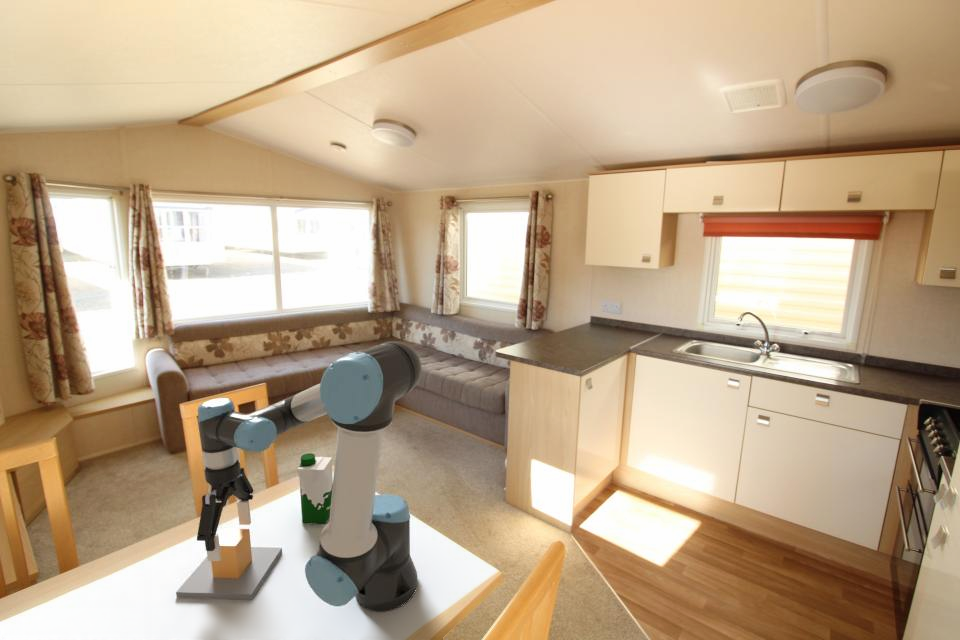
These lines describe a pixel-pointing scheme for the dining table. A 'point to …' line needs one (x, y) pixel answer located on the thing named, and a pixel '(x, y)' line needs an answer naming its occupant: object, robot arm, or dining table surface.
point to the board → (231, 588)
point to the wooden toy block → (233, 553)
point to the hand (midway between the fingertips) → (230, 540)
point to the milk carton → (315, 488)
